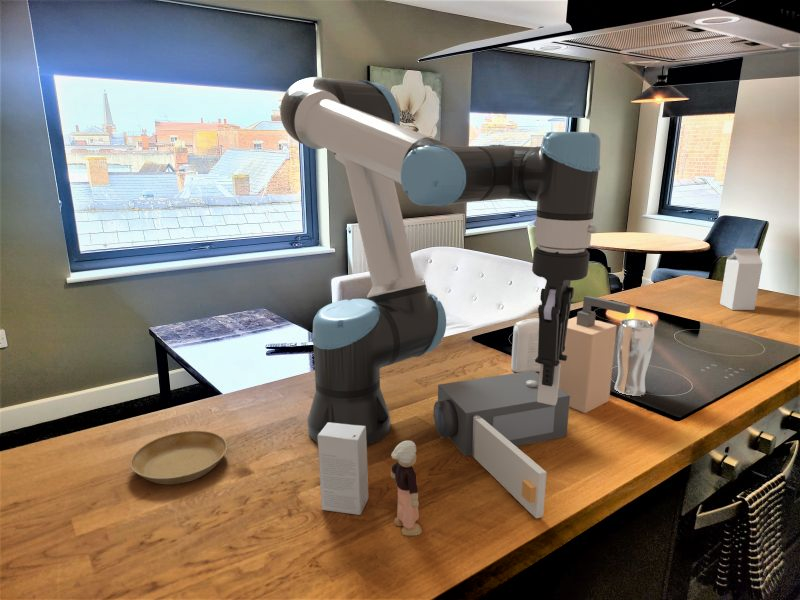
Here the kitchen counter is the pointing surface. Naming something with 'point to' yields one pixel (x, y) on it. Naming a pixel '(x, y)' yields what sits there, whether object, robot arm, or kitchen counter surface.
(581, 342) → the soap dispenser
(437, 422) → the camera housing
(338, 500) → the skincare box
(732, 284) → the milk carton
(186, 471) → the plant saucer
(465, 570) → the kitchen counter surface
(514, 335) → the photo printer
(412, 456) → the grandmother figurine
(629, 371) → the beer glass
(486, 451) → the side door
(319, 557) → the kitchen counter surface
